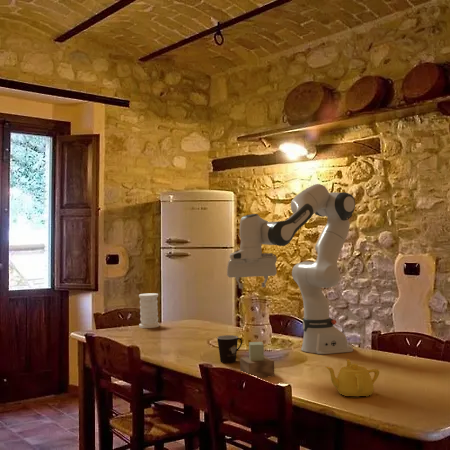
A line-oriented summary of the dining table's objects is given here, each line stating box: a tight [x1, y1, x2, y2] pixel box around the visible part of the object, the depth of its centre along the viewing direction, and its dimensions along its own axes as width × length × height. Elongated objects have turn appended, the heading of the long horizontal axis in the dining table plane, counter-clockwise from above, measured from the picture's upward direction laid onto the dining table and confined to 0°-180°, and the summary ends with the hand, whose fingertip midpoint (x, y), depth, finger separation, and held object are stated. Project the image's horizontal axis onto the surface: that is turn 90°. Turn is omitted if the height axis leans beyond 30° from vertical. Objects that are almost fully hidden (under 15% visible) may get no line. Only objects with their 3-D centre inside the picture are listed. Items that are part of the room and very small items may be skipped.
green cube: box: [248, 341, 265, 361], centre depth 226 cm, size 5×5×6 cm
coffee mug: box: [216, 334, 243, 364], centre depth 248 cm, size 12×9×10 cm
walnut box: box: [239, 354, 275, 378], centre depth 226 cm, size 10×10×6 cm
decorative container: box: [138, 292, 161, 329], centre depth 336 cm, size 12×12×18 cm
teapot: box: [325, 358, 380, 397], centre depth 198 cm, size 14×13×10 cm
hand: (252, 287), depth 245 cm, fingers open, 8 cm apart
